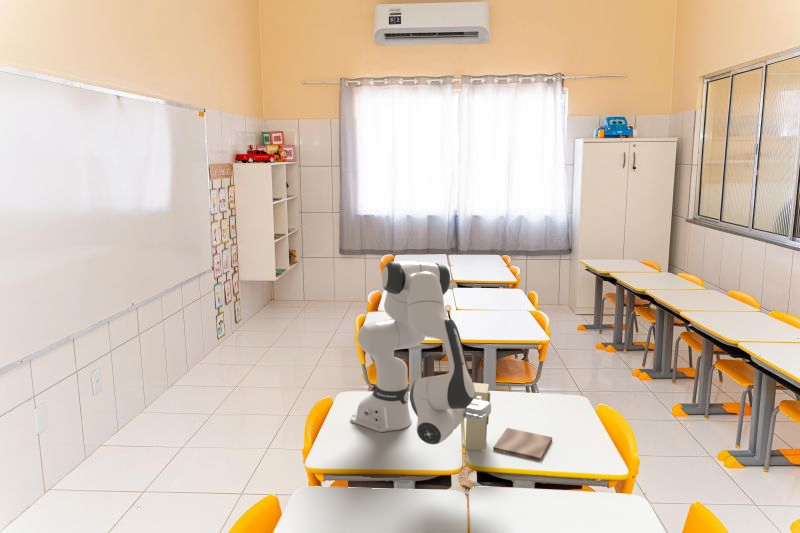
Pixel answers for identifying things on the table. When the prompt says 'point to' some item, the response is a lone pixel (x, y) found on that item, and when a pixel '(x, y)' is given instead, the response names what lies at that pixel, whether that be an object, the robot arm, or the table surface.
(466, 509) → the table surface
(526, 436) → the walnut platform
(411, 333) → the robot arm
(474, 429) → the toy refrigerator
